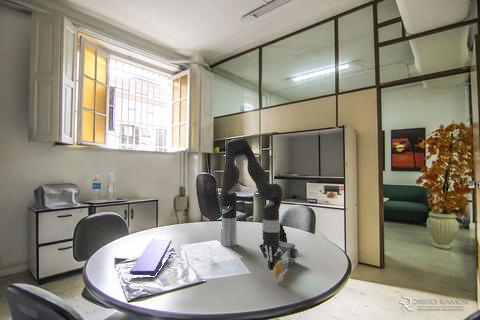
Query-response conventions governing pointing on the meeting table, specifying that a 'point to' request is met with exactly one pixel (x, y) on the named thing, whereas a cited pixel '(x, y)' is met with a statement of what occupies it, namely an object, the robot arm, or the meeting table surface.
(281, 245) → the grey box with knob
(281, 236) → the black ribbed block
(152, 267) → the purple slab
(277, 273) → the orange and gray panel
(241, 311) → the meeting table surface
